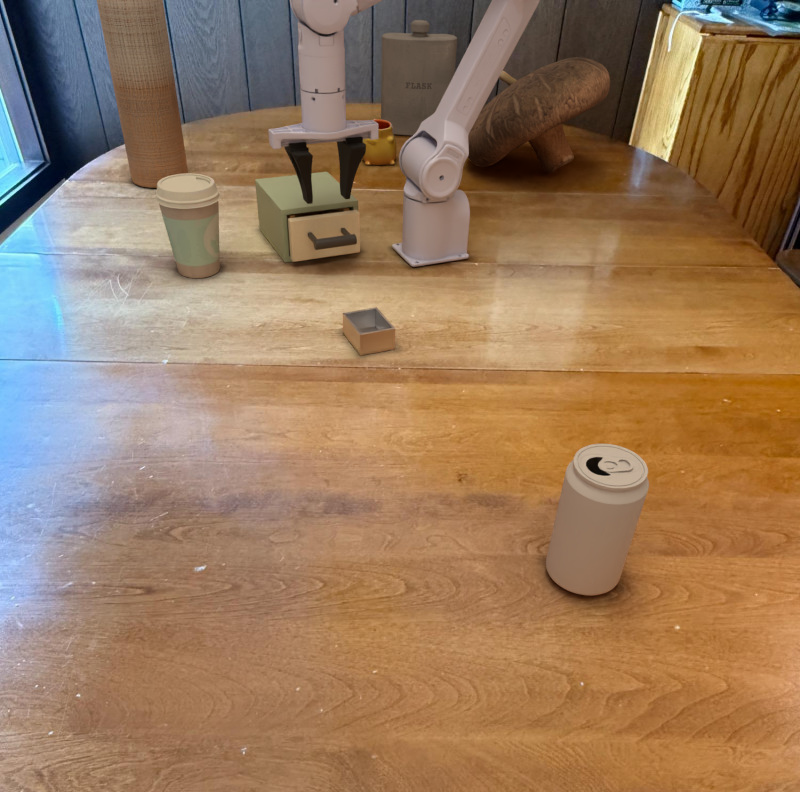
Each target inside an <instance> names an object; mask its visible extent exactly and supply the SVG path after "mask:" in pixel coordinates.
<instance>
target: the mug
mask: <svg viewBox="0 0 800 792" xmlns="http://www.w3.org/2000/svg"><path fill="white" fill-rule="evenodd" d="M372 120H374V121H375V122H376V123H378V139H375V140H371V139H370V138H369V139H363V143H364V144H366V152H365V155H364V156H363V158H362V160H363V161H364V164H365V165H366V166H387V165H390V166H393V165H395V164H396V162H395V160H396V157H397V148H398V147H397V141H396V137H395V135H394V133H393V126H392V124H391V123H390V122H389V121H386V120H381V118H380V119H379V118H378V119H377V118H373V119H372Z"/></svg>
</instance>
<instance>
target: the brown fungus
mask: <svg viewBox="0 0 800 792" xmlns="http://www.w3.org/2000/svg"><path fill="white" fill-rule="evenodd" d="M607 69H608V68H606V67H605V66H604V65H603V64H602V63H600V62H598V61H595V60H593V59H591V58H587V57H581V56H573V57H568V58H564V59H560V60H558V61H555V62H552V63H549V64H546V65H544V66H541V67H540V68H537V69H536V70H533V71H532V72H530V73H529V74H526V75H524V76H522V77H520V78H518V79H516V78H514V77H512V76H511V75H510V74H509V73H507V71H504V70H503V71H502V73H501V74H500V76H499V78H498V79H499V80H500V81H502V82H504V83H505V84H506V85H507V86H508V87H506V88H505V89H503V90H502V91H500V93H498V94H497V95H495V96H494V97H493V98H492V99H490V101H489V102H488V103H487V104H485V105H484V106H483V108H482V110H481V112H480V114H479V115H478V117H477V119H476V121H475V123H474V125H473V127H472V129H471V130H470V132H469V135H468V143H469V155H468V157H467V159H469V162H471V163H472V164H473V165H475V166H477V167H480V168H484V167H485V168H486V167H488V166H492V165H494V164H496V163H498V162H500V161H501V160H502V159H504V158H505V157H506V156H507V155H509V154H510V153H511V152H512V151H514V150H516V149H518V148H520V147H522V146H523V145H525V144H526V143H528V144H529V145H530V146H531V148H532V150H533V152H534V154H535V155H536V158H537V160H538V161H539V163H540V165H541V167H542V169H543V170H544V172H545V174H553V173H554V172H556V171H557V170H558V169H559V168H561V167H563V166H565V165H567V164H569V163H571V162H572V161H574V159H575V155H574V153H573V150H572V149H571V146H570V144H569V142H568V139H567V136H566V133H565V131H564V130H565V129H564V126H563V124H565V123H566V122H569V121H570V120H572V119H574V118H577V117H578V116H580V115H582V114H584V113H586V112H588V111H590V110H591V109H592V108H593V107H595V106H596V105H598V104H599V103H601V102H603V101H604V100H605V99H606V98H607V96H608V94H609V92H610V89H611V88H610V87H611V77H610V74H609V72H608V70H607Z"/></svg>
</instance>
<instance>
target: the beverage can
mask: <svg viewBox="0 0 800 792" xmlns="http://www.w3.org/2000/svg"><path fill="white" fill-rule="evenodd" d="M648 475H649V468H648V464H647V463H646V462H645V460H644V458H642V457H641V456H640V455H639V454H637V453H636V452H634V451H633V450H631V449H629V448H627V447H624V446H620V445H618V444H617V445H616V444H612V443H593V444H589V445H586V446H583V447H581V448H579V450H577V451H576V452H575V454H574V456H573V459H572V460H571V461H570V462H569V463H568V465H567V467H566V469H565V472H564V478H563V482H562V487H561V491H560V495H559V500H558V504H557V509H556V514H555V518H554V523H553V526H552V531H551V536H550V540H549V544H548V549H547V554H546V558H545V567H546V568H545V569H546V571H547V574H548V575H549V577H550V578H551V580H552V581H553V582H554V583H556V584H557V585H558V586H559V587H561V588H562V589H563V590H566V591H568V592H570V593H573V594H576V595H581V596H599V595H603V594H606V593H608V592H611V591H612V590H613V589H614V588H615V587H616V586H617V585H618V584H619V582H620V580H621V576H622V574H623V570H624V568H625V564H626V561H627V558H628V554H629V551H630V548H631V545H632V542H633V538H634V536H635V533H636V529H637V527H638V523H639V521H640V517H641V514H642V511H643V508H644V504H645V502H646V498H647V495H648V491H649V488H650V482H649V481H650V480H649V478H648Z"/></svg>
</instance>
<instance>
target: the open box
mask: <svg viewBox="0 0 800 792" xmlns="http://www.w3.org/2000/svg"><path fill="white" fill-rule="evenodd" d="M342 335H344V337H345V338H346V340H347V341H348V342H349V343H350V344H351V346H352V347H353V348H354V350H355V351H356V352H357V354H358V355H359V356H365V355H366V356H367V355H372V354H376V353H377V354H378V353H381V352H387V351H392V350H395V349H396V327H395V326H394V325H393V324H392V322H391V321H389V319H388V318H387V317H386V316H385V315H384V314H383V312H381V310H380V309H379V308H378V307H377V306H376V307H370V308H364V309H358V310H353V311H346V312H342Z"/></svg>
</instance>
